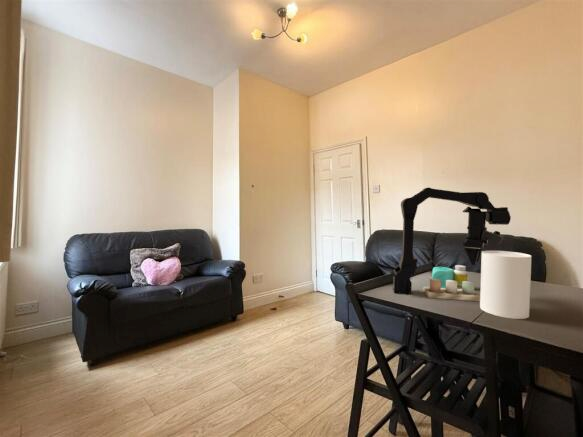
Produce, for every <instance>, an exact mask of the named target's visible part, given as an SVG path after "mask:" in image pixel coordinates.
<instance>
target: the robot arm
mask: <svg viewBox="0 0 583 437" xmlns="http://www.w3.org/2000/svg"><path fill="white" fill-rule="evenodd" d="M429 198H430V199H437V200H444V201H451V202H457V203H461V204H463V205H466V206H467V207H466V208H464V210H462V213H468V215H467V216H468V217H467V218H468V221H467V227H466V229H467V236H466V239H465V240H464V241H463V243H462V244H463V245H462V247H463V248H464V250H465V252H466V255H467V257H468V259H469V262H470V263H471V266H476V264H477V262H479V261H480V258H481V255H482V251H483V250H484V248H485V247H486V246H487V245H488V242H491V243H494V244H495V245H498V246H500V245H501V243H502V241H503V239H504V236H503V235H501V232H500V231H498V230H494V231H493V232H492V231H489V230H487V229H488V227H487V226H486V223H488V224H489V225H496V226H498V225H501V226H504V225H505V226H508V225H509V224H510V223H511V217H512V216H511V214H510V211H509V208H508V207H506V206H505V207H504V206H502V207H495V206H494V204H493V203H492V202H491V201H490V198H489V195H488V194H487V193H486V192H482V191H471V192H460V191H454V190H447V189H446V190H445V189H437V188H431V187H425V188H423V189H422V190H420V191H419V192H418V193H415V194H414V195H413V196H411V197H407V198H403V200H402V201H401V202H400V209H401V214H402V220H403V222H402V225H403V226H402V251H401V255H400V259H399V263H398V266H397V267H395V268H394V269H393V273H394V275H393V286H392V291H393V293H394V294H402V295H403V294H404V295H411V294H412V287H413V286H412V285H413V284H412V281H411V276H413V275H414V274H415V273H416V270H418V267H417V266H418V258H417V257H416V256H414V253H413V252H414V224H415V223H414V222H415V218H416V215H417V211H418V207H419V205H420V204H421V205H422V203H424V202H425V201H427V199H429ZM484 210H485V211H484Z"/></svg>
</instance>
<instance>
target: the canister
mask: <svg viewBox="0 0 583 437" xmlns="http://www.w3.org/2000/svg"><path fill="white" fill-rule="evenodd" d="M480 258H481V259H480V260H481V262H480V263H481V264H480V290H479V291H480V293H479V295H480V301H479V308H480V309H481V310H482V311H484V312H485V313H488V314H491V315H494V316H496V317H501V318H506V319H515V320H517V319H519V320H525V319H527V318H528V319H529V317H530V305H531V304H530V303H531V301H530V300H531V277H532V255H531V254H527V253H523V252H516V251H507V250H482V251H481V256H480Z"/></svg>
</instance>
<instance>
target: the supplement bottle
mask: <svg viewBox="0 0 583 437" xmlns="http://www.w3.org/2000/svg"><path fill="white" fill-rule="evenodd" d="M466 268H467V267H466V265H461V264H456V265H455V266H454V269H453V280H454V281H457V289H462V281H468V272H467V270H466Z"/></svg>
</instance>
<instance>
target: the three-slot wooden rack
mask: <svg viewBox="0 0 583 437" xmlns="http://www.w3.org/2000/svg"><path fill="white" fill-rule="evenodd" d="M422 291H423V292H424V293H425V295H426V296H427V297H428V298H431V299H443V300H446V299H447V300H460V301H474V302H480V293H478V292H477V291H475V290H474V293H473V294H468V293H464V292H462V289H458V288H457V292H455V293H453V292H448V291H446V288H441V291H432V290H430V286H423V290H422Z"/></svg>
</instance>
